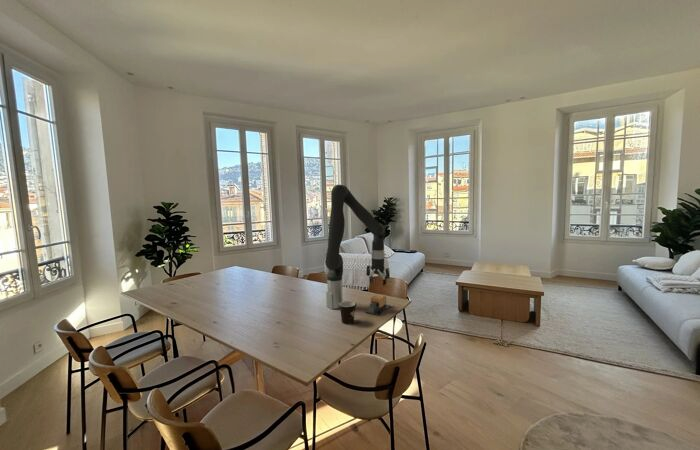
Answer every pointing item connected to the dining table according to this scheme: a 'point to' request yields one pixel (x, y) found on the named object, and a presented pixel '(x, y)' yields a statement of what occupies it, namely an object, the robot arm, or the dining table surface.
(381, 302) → the block
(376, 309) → the rail
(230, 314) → the dining table surface
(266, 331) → the dining table surface
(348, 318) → the coffee mug
